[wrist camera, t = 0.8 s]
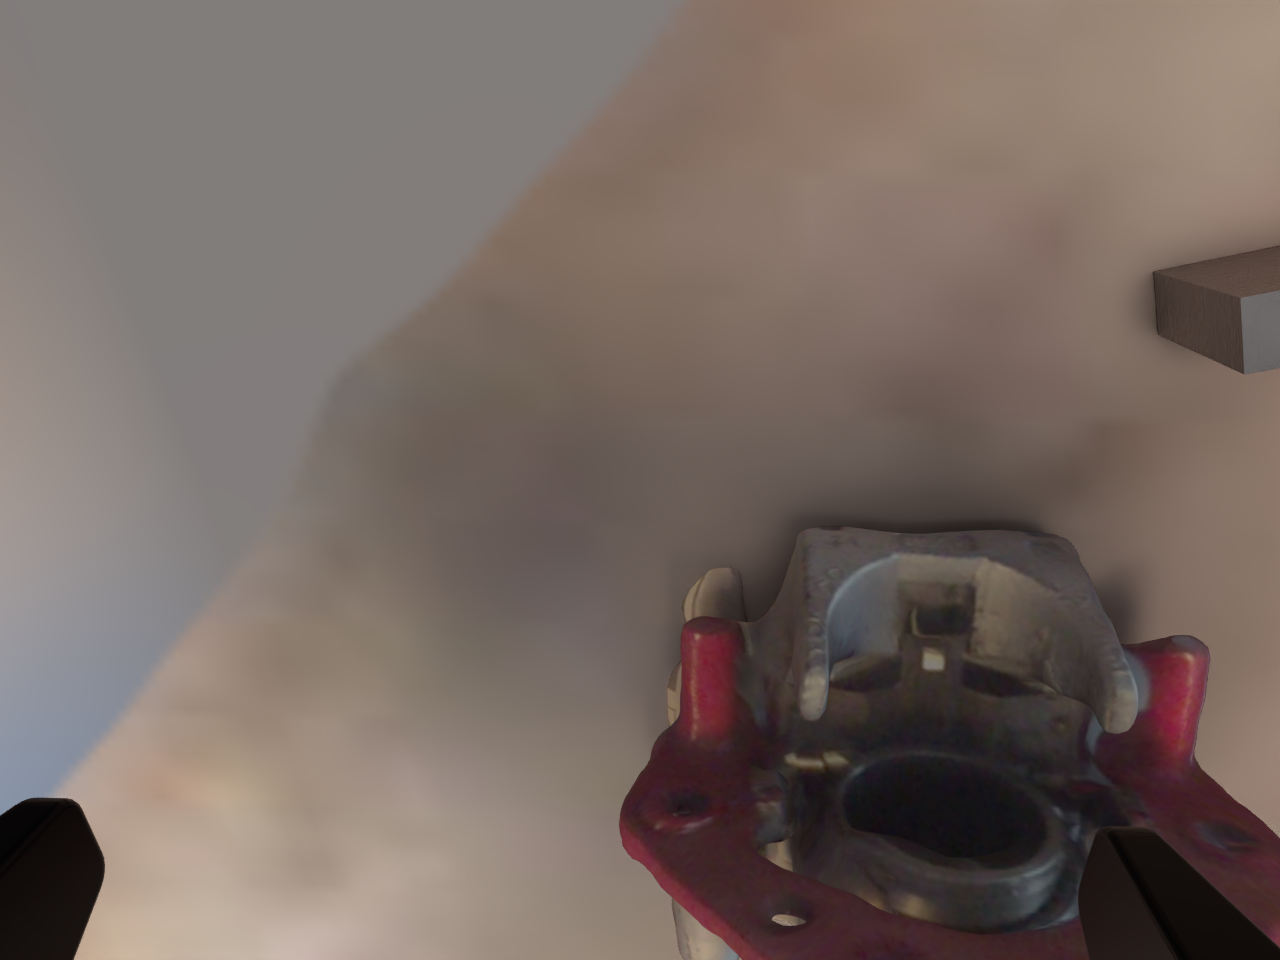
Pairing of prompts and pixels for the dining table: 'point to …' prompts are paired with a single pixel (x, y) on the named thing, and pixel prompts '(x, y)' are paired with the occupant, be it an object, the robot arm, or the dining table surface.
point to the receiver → (1224, 309)
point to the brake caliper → (923, 756)
